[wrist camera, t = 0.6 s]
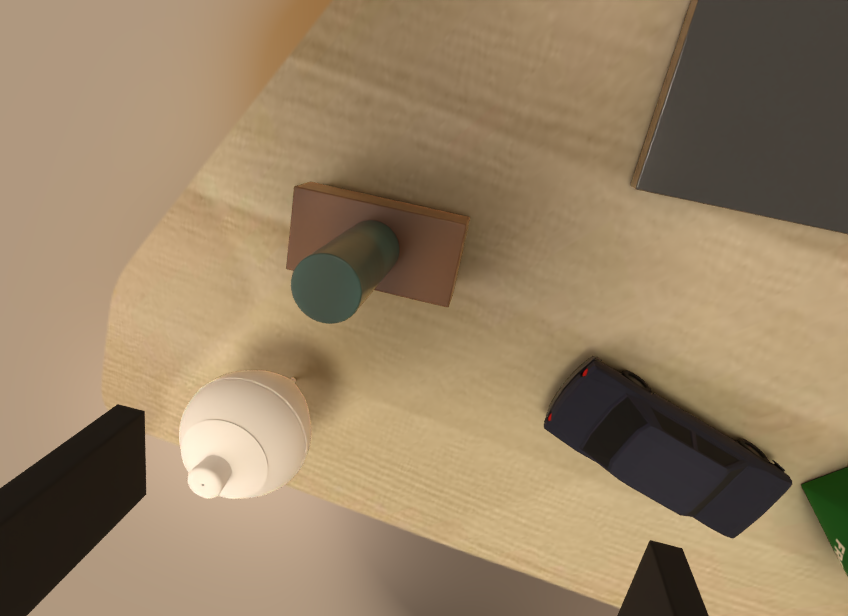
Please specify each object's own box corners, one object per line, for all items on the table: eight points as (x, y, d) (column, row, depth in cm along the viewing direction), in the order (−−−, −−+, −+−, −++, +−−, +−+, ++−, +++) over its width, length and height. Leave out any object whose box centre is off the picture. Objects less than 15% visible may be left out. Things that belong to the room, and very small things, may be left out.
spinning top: (356, 419, 39) (291, 541, 27) (262, 429, 40) (165, 547, 29) (328, 323, 36) (246, 412, 25) (230, 337, 38) (112, 428, 27)
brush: (308, 254, 35) (214, 315, 24) (316, 179, 33) (219, 207, 22) (455, 289, 34) (426, 368, 23) (472, 213, 32) (450, 260, 21)
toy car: (716, 513, 36) (745, 571, 32) (535, 407, 36) (538, 450, 31) (777, 455, 34) (819, 507, 30) (586, 341, 34) (598, 377, 29)
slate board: (778, -269, 23) (795, -293, 22) (1097, -225, 22) (1136, -248, 21) (629, 186, 30) (635, 189, 29) (864, 235, 29) (882, 241, 28)
